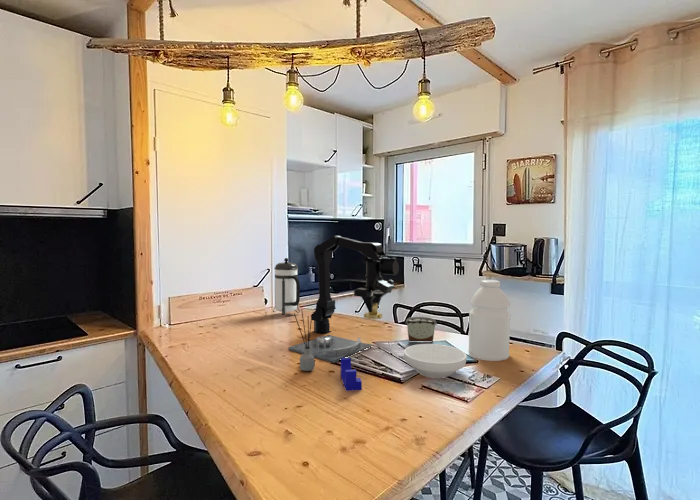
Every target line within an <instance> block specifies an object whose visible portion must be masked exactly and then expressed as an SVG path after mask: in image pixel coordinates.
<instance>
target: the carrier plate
mask: <svg viewBox="0 0 700 500" xmlns="http://www.w3.org/2000/svg"><path fill="white" fill-rule="evenodd" d="M305 344H306V341H305ZM305 344H304V342H302V343H297V344H295V345H291V346H288V350H289V351H292V352H294V353H298V354H301V355H303V354H304V348H305ZM371 346H373V347H374V345H373V344H370V343H367V342H366V343H365V342H362V341H361V337H357V341H356V340H353V339H348V338H344V337H339V336H336V335H330V334H328V335H322V336H317V337H316V338H315V339H312V340H309V347H310V353H311V354H312V355H313V356H314V359H317V360H322V361H326V362H329V363H333V364H335V363H338V362H340V361H339V360H340V359H341V358H345V357H348V356H351V355H353V354H355V353H357V352H359V351H362V350H364V349H366V348H369V347H371ZM306 347H308V340H307V346H306ZM353 356H354V355H353ZM351 357H352V356H351ZM348 358H349V357H348Z"/></svg>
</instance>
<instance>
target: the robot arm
mask: <svg viewBox="0 0 700 500" xmlns="http://www.w3.org/2000/svg"><path fill="white" fill-rule="evenodd" d="M339 247H342V248H346V249H349V250H354V251H356V252H359V253H361V254H362V255H364V256H365V257H364V258H363V259H362V260H361V262H362V263H365V264H366V269H365V270H366V271H365V272H366V274H365V275H364V276H363V277H364V279H365V280H366V283H365V284H366V285H364V287H358V288H355V290H353V296H355V297H360V298H361V299H362V301H363V302H364V305H365V306H366V308H367V310H368V311H367V312H372V304H373V302H377V303H378V307H379V305H380V304H381V300H382V298H383V297H384V296H386V294H388V293H389V294H391V293H392V290H393V289H395V281H394V280H392V279H389V280H384V277H383V275H391V276H397V275H398V274H399V270H400V266H399V262H398V261H397V259H398V258H397V257H388V256H387V254H386V252H385V251H384V250H383V246H382V243H379V242H371V241H370V242H368V241H367V242H365V241H364V242H363V241H359V240H357V239H351V238H349V237H343V236H341V235H333V236H331V237H330V238H329V239H327V240H324V241H323V242H321V243H319V244H317V245H316V246H314V248H313V255H314V259H315V261H316V263H317V265H318V289H319V290H318V294H319V295H318V299H317V300H316V303H315V311H313V313H311V315H312V321H313V330H312V331H311V333H315V334H318V335H326V334H328V333H331V332H332V330H330V319H331V318H332V316H333V314H334V313H335V310H336V309H337V308H336V300H335V299H332V296H331V279H330V277H331V276H330V275H331V273H330V264H331V261H332V259H333V255H334V254H333V253H334V252H335V251H336V250H337V249H338V248H339ZM381 274H382V275H381Z"/></svg>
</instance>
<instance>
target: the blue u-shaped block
mask: <svg viewBox="0 0 700 500" xmlns="http://www.w3.org/2000/svg"><path fill="white" fill-rule="evenodd" d="M340 377H341V381H342V384H343V386H344V389H345V392H353V391H362V385H363V383H362V379H361V377H357V369H352V359H351V357H348V358H341V361H340Z"/></svg>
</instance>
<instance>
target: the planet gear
mask: <svg viewBox="0 0 700 500" xmlns="http://www.w3.org/2000/svg"><path fill="white" fill-rule="evenodd" d="M378 308H379V306H378V303H377V302H373V304H372V312H369V311H366V312H364V313H363V318H365V319H366V320H378V319H382V318H383V313H380V311H378V310H379V309H378Z"/></svg>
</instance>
